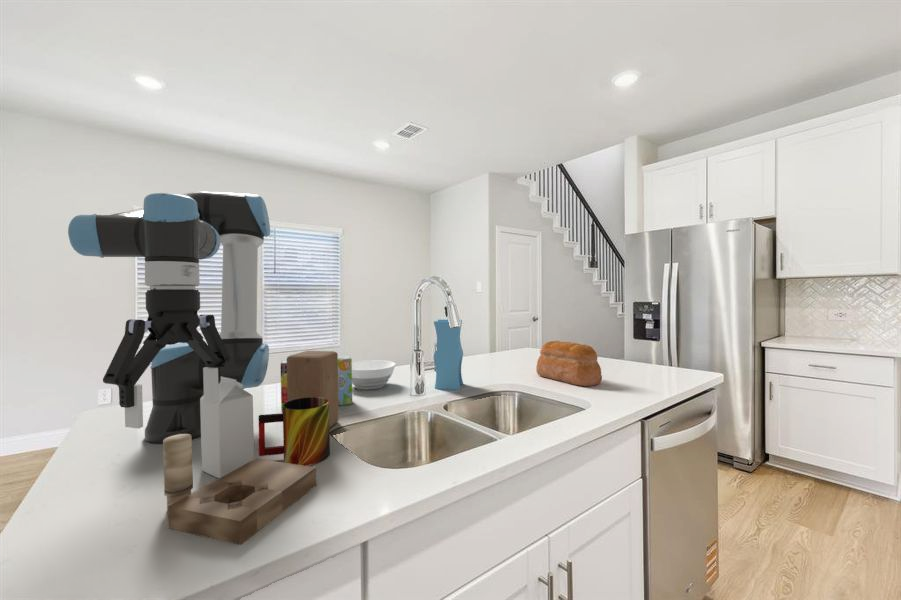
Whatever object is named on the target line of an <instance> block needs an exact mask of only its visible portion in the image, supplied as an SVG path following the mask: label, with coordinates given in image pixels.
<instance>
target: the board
mask: <svg viewBox="0 0 901 600" xmlns="http://www.w3.org/2000/svg"><path fill="white" fill-rule="evenodd" d="M316 486H317V467H316V466H311V465H308V466H304V465H297V464H290V463H285V462H284V461H275V460H270V459H261V458H254V460H252V461H250V462H248V463H247V464H245V465H243V466H241V467H239V468H237V469H236V470H234V471H232V472H230V473H228V474H226V475H225V476H223V477H221V478H218V479H215V480H213V481H212V482H210V483H209V484H207V485H205V486H203V487H201V488H199V489H197V490H196V491H193V492H191V494H190V495H188V496H186V497H184V498H182V499H181V500H179V501H177V502H175V503H173V504H171V505H169V506H168V511H167V512H168V513H167V517H168V520H167V521H168V522H167V523H168V529H171V530H175V531H179V532H184V533H188V534H192V535H196V536H201V537H205V538H210V539H214V540H218V541H223V542H227V543H230V544H231V543H232V544H235V545H242V544H243V543H245V542H246V541H248V540H249V538H251V537H252V536H254V535H256V533H257V532H259V531H260V530H261V529H263V528H264V527H265V526H266V525H268V524H270V522H272V521H273V520H274V519H276V518H277V517H278V516H279V515H281V514H282V513H283V512H284V511H286V510H287V509H288V508H289V507H291V506H292V505H293V504H295V503H296V502H297V501H298V500H300V499H301V498H302V497H303V496H305V495H306V494H308V493H309V492H310V491H311V490H312V489H314V488H315V487H316Z"/></svg>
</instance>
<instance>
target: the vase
mask: <svg viewBox="0 0 901 600" xmlns="http://www.w3.org/2000/svg"><path fill="white" fill-rule="evenodd" d="M459 320H460V321H461V326H460V327H458V328H453V329H452V328H450V326H449V322H448V318H447V319H442V318H441V319H439V318H438V319H437V321H435V320H433V325H434V327H435V328H434V329H435V335H436V345H435V350H434V353H433V362H434V366H435V384H434V389H435V390H447V391H448V390H449V391H451V390H453V391H460V390H461V385H463V384H464V382H463V376H462V375H463V374H462V363H463V357H464V350H463V347H462V343H461V329H462V324H463V320H462V319H459ZM436 347H437V351H436Z"/></svg>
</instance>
